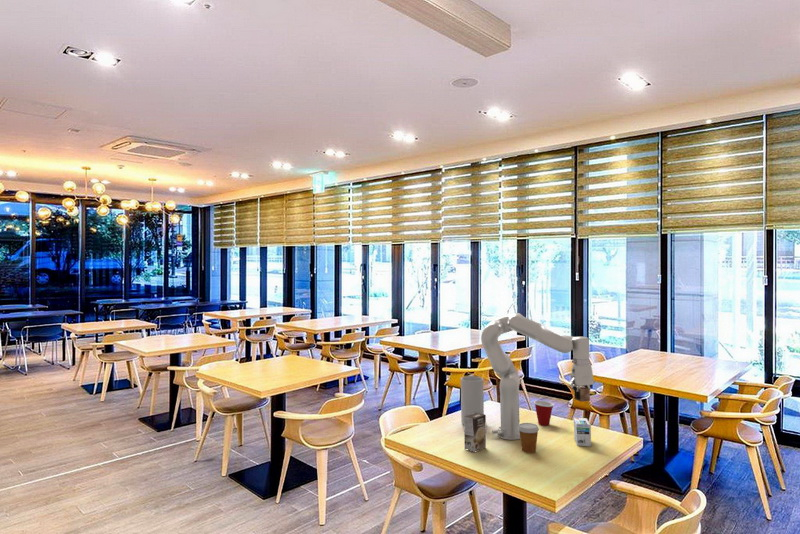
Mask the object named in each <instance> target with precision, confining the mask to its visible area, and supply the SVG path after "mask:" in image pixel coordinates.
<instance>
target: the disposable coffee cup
mask: <svg viewBox="0 0 800 534" xmlns="http://www.w3.org/2000/svg"><path fill="white" fill-rule="evenodd" d="M518 429H519V432H520V439H519V440H520V446H521V452H522V453H526V454H535V453H536V451H537V444H538V434H539V430H540V428H539V426H538V425H537V424H536V423H532V422H522V423H521V422H520V423H519V427H518Z"/></svg>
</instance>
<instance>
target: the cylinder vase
mask: <svg viewBox="0 0 800 534" xmlns="http://www.w3.org/2000/svg"><path fill="white" fill-rule="evenodd" d="M484 394H485V393H484V377H481V376H471V375H470V376H462V377H460V410H461V412H460V413H461V414H460V417H461V418H460V419H461V421H460V422H461V424H462V425H464V416H466V415H469V414H473V413H480V414H484V415H485V413H484V411H485V410H484V409H485V404H484V403H485V402H484V401H485V400H484V398H485V397H484Z"/></svg>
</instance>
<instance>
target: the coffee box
mask: <svg viewBox="0 0 800 534" xmlns="http://www.w3.org/2000/svg"><path fill="white" fill-rule="evenodd" d="M486 417H487V416H486V414H485V413H484V414H480V413H473V414H469V415H466V416H464V424H463V425H464V438H463V439H464V444H463V445H464V450H465V449H468V450H470V451H469V452H472V451H473V452H472V453H476V452H475V451H477V452H479V451H481V450H480V449H482V448H484V449H486V448H485V447H487V443H486V442H487V441H486V440H487V439H486V438H487V435H486V434H487V429H486V428H487V425H486V424H487V421H486V420H487V419H486ZM468 450H467V451H468ZM478 450H479V451H478ZM482 450H483V449H482Z"/></svg>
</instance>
